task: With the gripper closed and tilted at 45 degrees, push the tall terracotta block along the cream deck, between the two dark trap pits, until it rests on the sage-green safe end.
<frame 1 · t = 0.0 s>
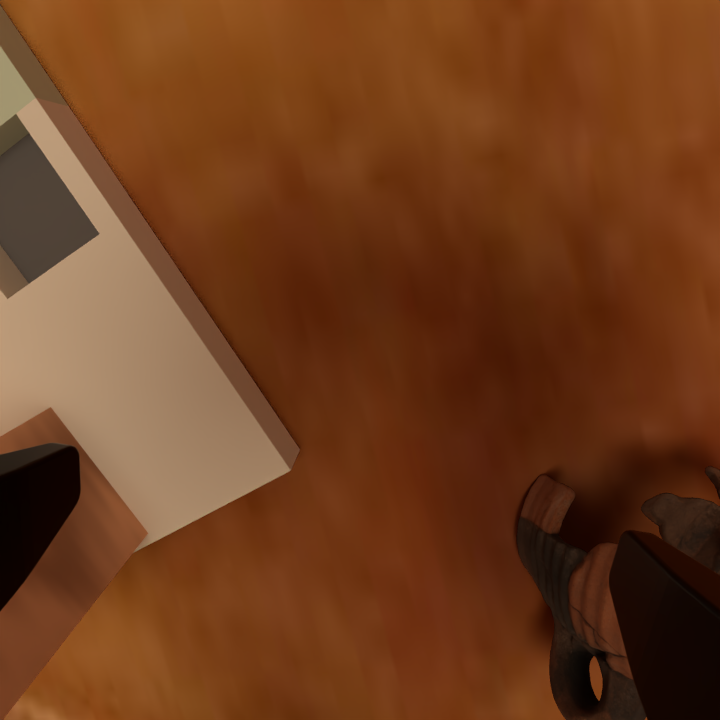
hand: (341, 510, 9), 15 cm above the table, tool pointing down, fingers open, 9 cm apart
terracotta block: (43, 505, 25), point 2 cm above the table, touching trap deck
brown piece: (612, 545, 25), on the table
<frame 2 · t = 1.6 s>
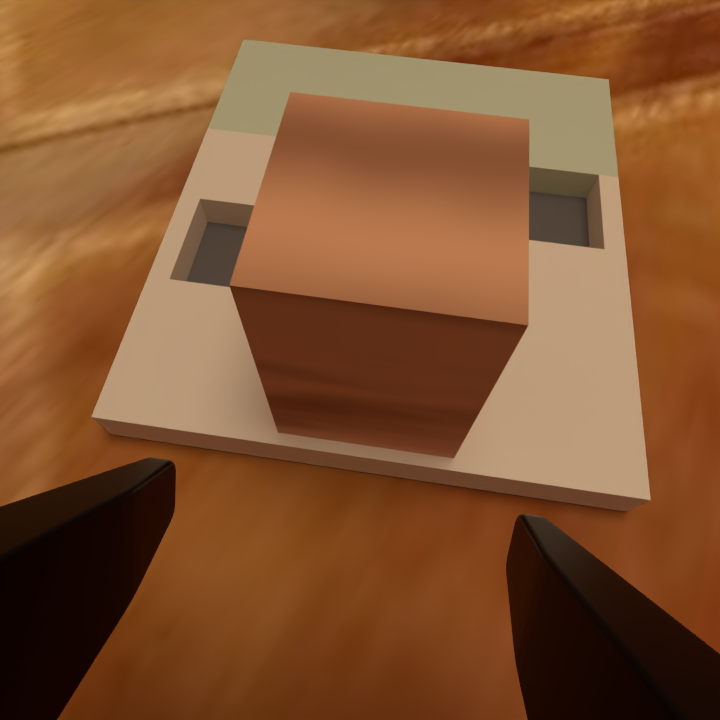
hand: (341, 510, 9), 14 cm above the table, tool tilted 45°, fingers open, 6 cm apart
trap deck: (395, 249, 29), on the table
safe end: (412, 132, 33), on the table
terracotta block: (376, 367, 23), point 2 cm above the table, touching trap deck
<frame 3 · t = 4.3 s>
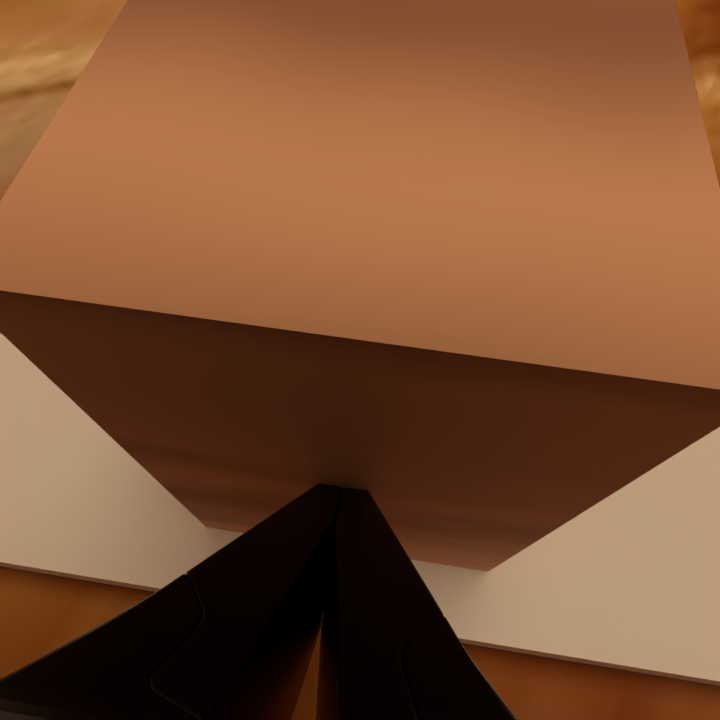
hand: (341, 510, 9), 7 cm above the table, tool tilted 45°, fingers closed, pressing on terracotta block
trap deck: (390, 265, 20), on the table
terracotta block: (365, 417, 15), point 2 cm above the table, touching gripper
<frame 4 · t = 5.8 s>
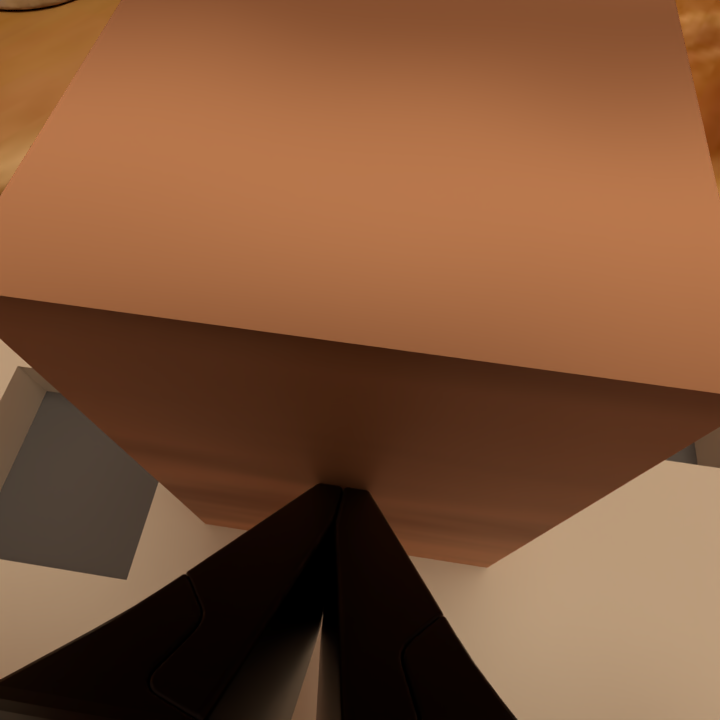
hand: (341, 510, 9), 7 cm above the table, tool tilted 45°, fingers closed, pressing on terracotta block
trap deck: (363, 441, 17), on the table
terracotta block: (364, 414, 15), point 2 cm above the table, touching gripper
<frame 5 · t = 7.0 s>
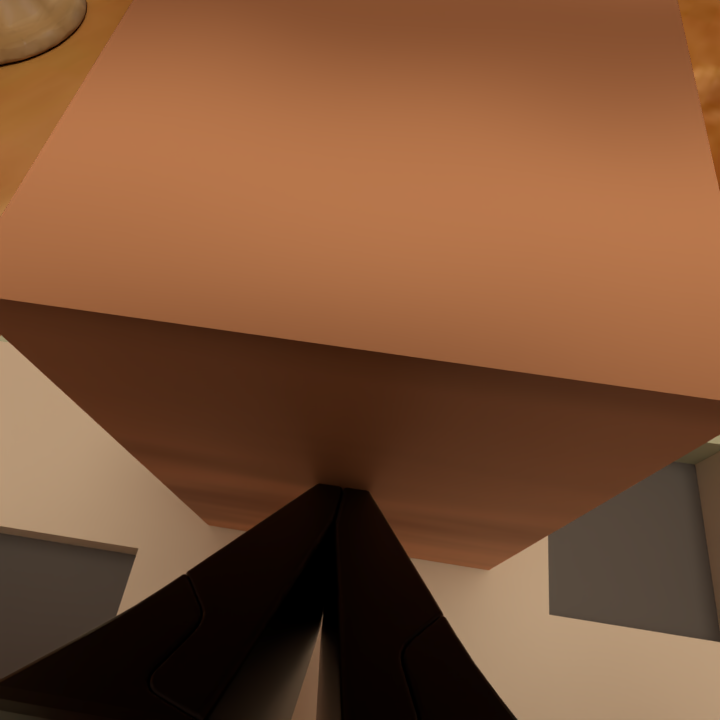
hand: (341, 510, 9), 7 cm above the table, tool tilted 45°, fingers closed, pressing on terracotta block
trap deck: (340, 589, 15), on the table
safe end: (382, 315, 19), on the table
terracotta block: (366, 416, 15), point 2 cm above the table, touching gripper
hand bell: (3, 21, 27), on the table
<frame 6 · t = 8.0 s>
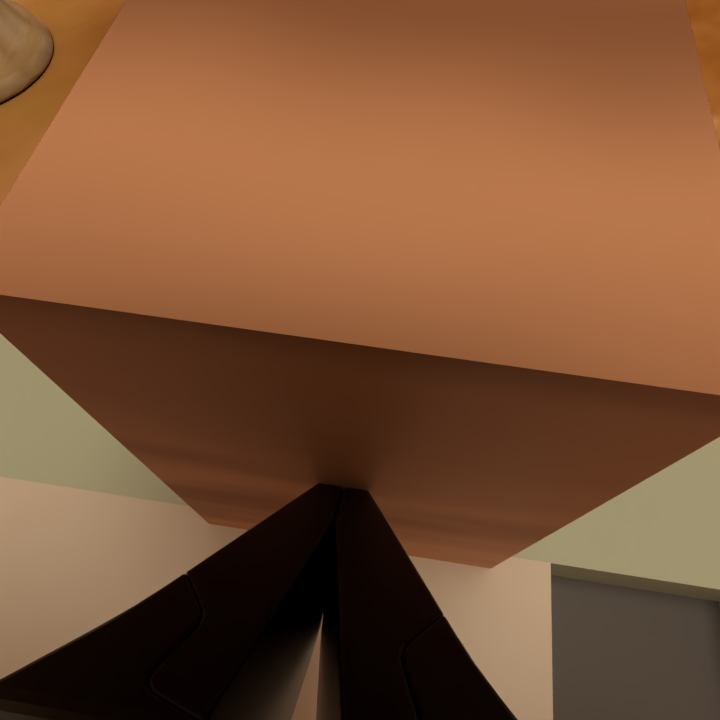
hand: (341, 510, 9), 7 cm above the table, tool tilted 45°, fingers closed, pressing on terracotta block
safe end: (367, 413, 17), on the table
terracotta block: (368, 414, 15), point 2 cm above the table, touching gripper, safe end, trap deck
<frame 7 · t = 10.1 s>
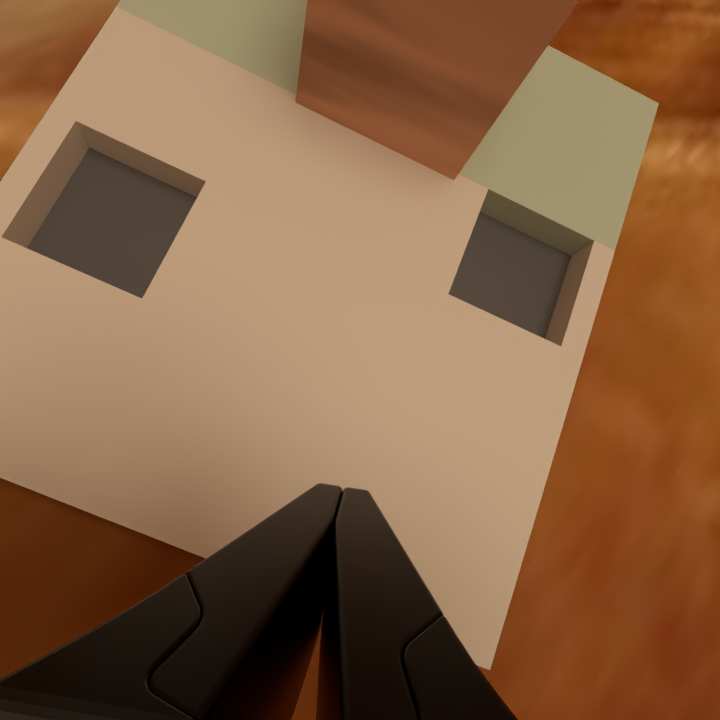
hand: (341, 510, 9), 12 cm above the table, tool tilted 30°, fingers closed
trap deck: (323, 258, 23), on the table
safe end: (399, 91, 25), on the table
terracotta block: (406, 75, 23), point 2 cm above the table, touching safe end, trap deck
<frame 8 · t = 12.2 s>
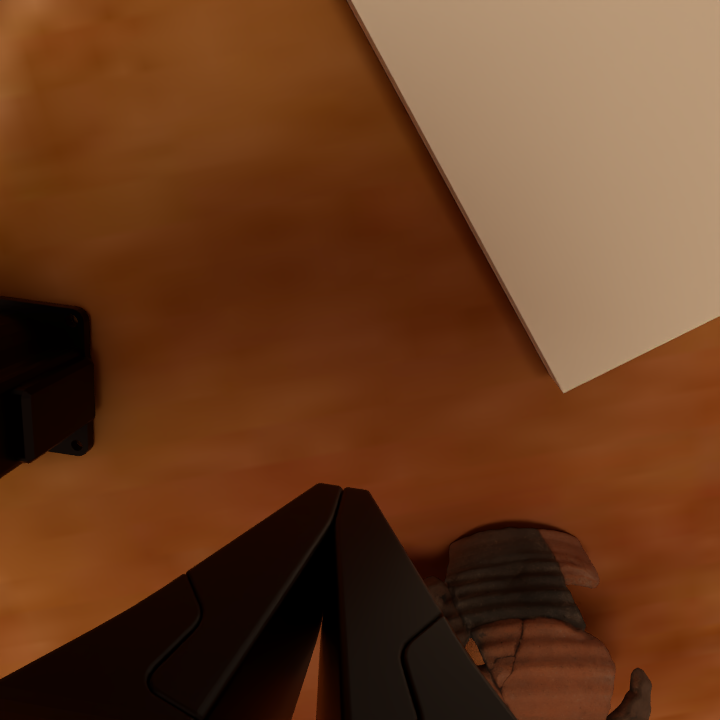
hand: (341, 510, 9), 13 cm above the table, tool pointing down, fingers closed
brown piece: (489, 604, 25), on the table
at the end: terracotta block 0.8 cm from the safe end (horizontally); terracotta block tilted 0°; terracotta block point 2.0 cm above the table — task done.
